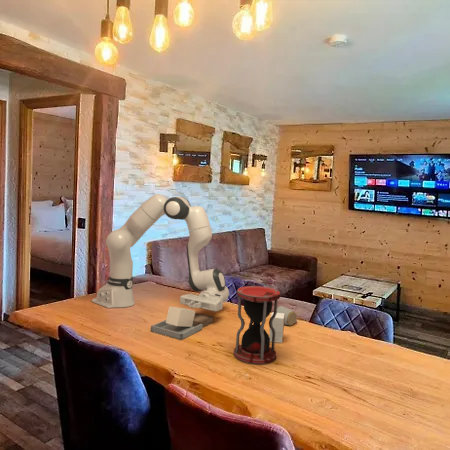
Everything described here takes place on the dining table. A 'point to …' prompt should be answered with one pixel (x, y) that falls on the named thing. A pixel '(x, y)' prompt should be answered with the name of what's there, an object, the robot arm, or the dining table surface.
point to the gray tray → (175, 330)
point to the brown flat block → (202, 320)
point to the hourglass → (256, 325)
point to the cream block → (180, 316)
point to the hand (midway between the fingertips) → (191, 306)
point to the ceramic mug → (287, 315)
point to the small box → (278, 327)
